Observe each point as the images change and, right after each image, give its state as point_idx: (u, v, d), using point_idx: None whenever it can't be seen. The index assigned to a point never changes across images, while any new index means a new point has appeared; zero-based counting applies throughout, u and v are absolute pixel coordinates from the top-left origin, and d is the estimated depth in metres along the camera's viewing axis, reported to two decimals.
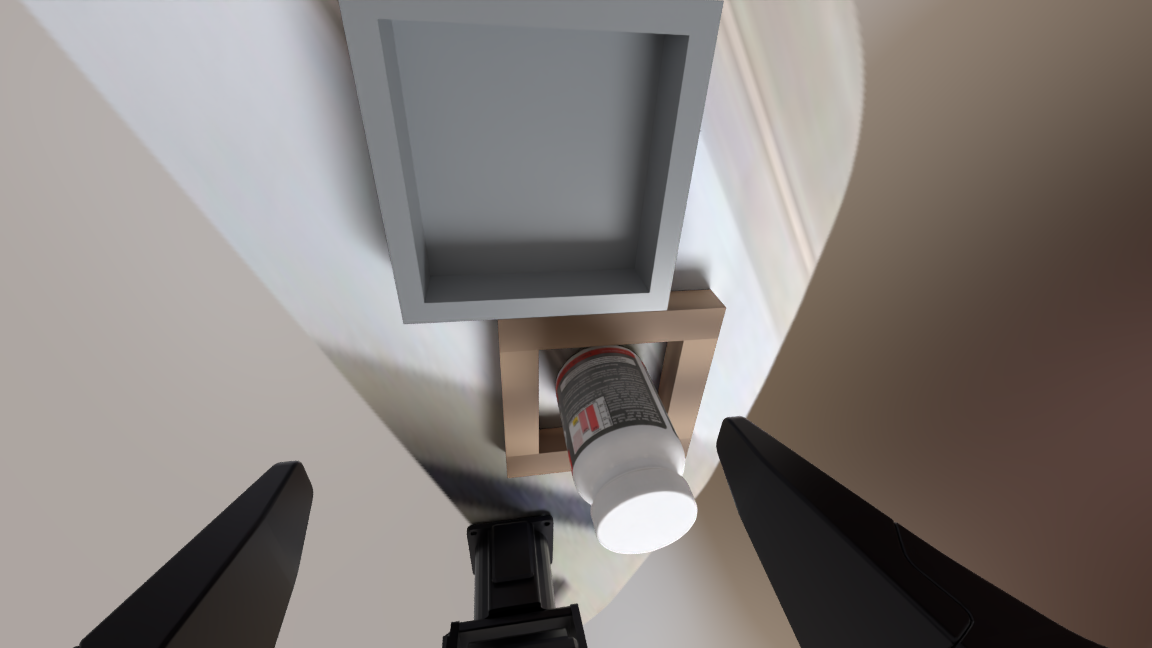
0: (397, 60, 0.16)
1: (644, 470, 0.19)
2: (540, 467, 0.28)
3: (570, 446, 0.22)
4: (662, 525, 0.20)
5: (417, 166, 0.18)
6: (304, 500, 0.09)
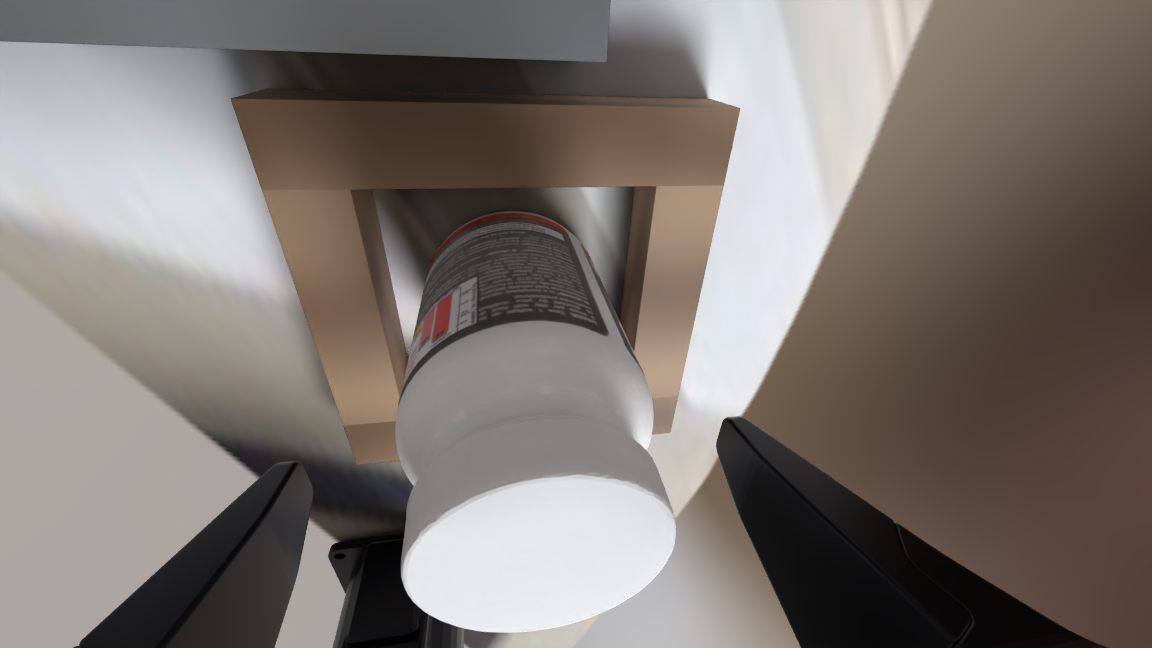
0: None
1: (530, 422, 0.07)
2: None
3: None
4: (585, 566, 0.08)
5: None
6: (304, 500, 0.09)
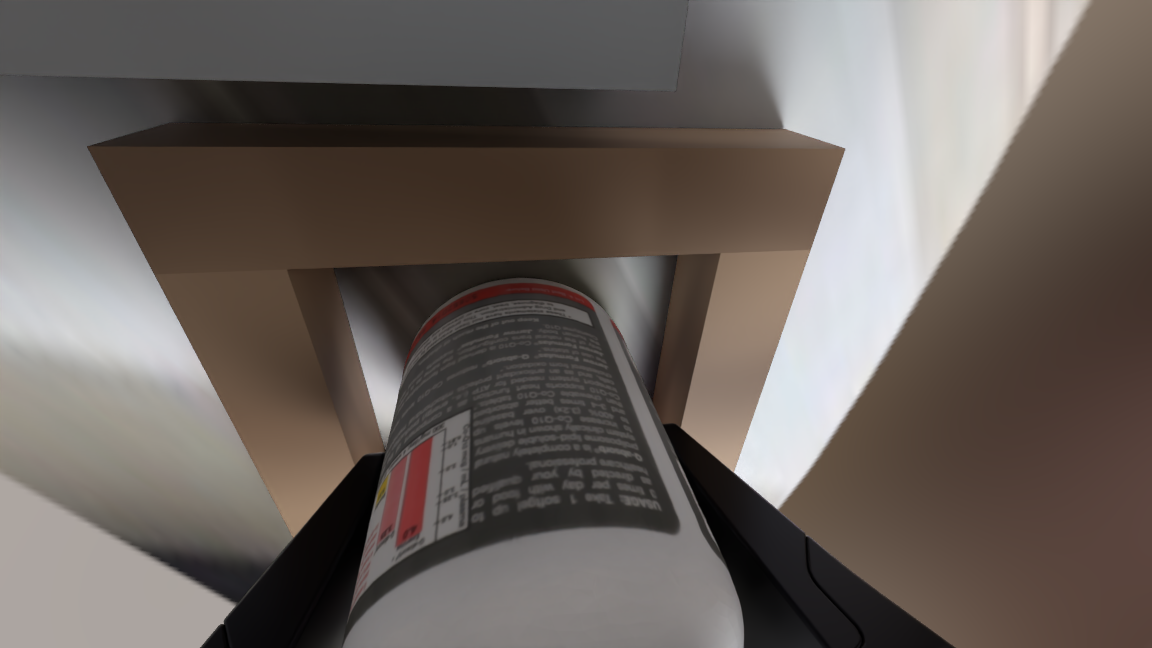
0: None
1: None
2: None
3: None
4: None
5: None
6: None
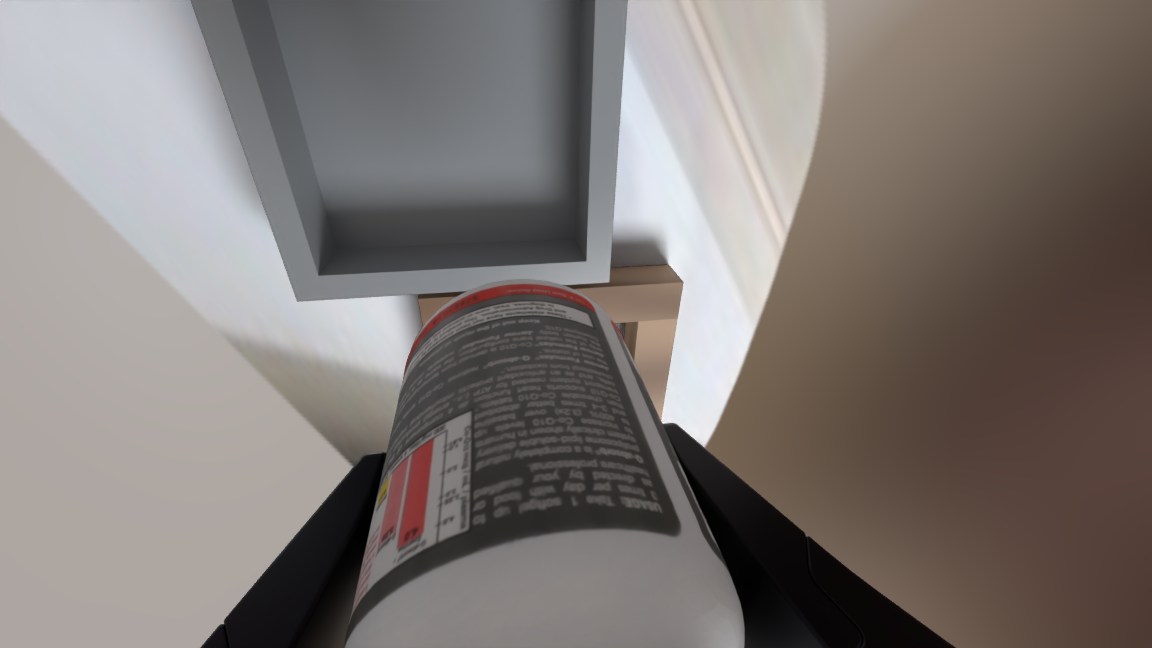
0: None
1: None
2: None
3: (359, 579, 0.07)
4: None
5: (304, 116, 0.16)
6: None
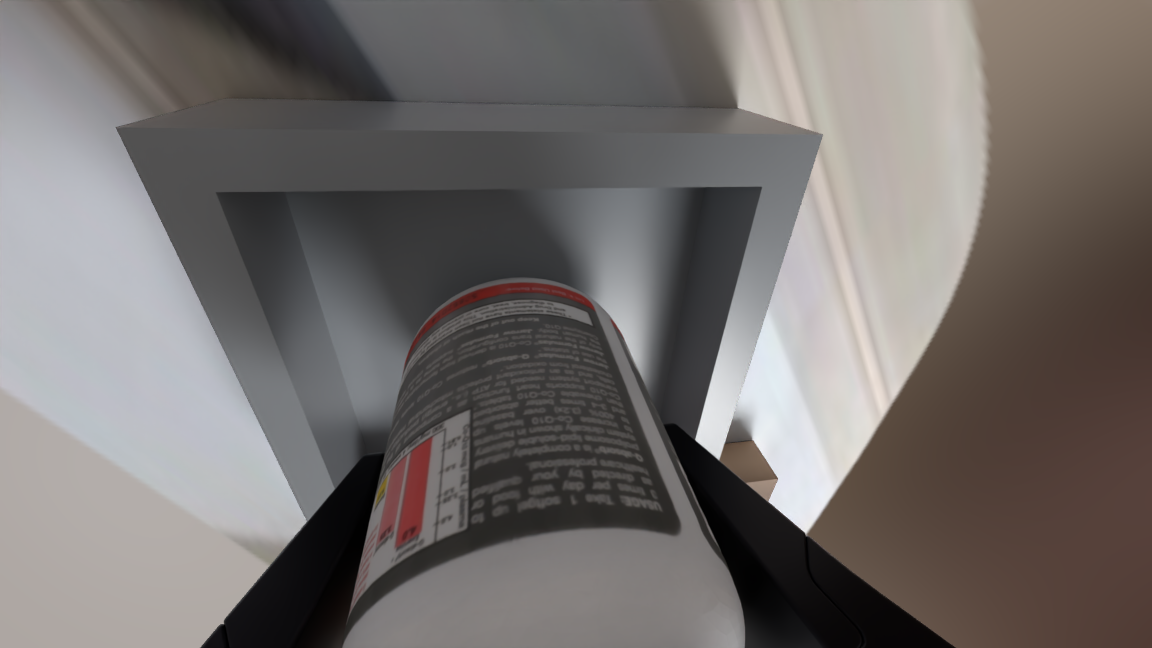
0: (291, 213, 0.10)
1: None
2: None
3: None
4: None
5: (339, 345, 0.12)
6: None
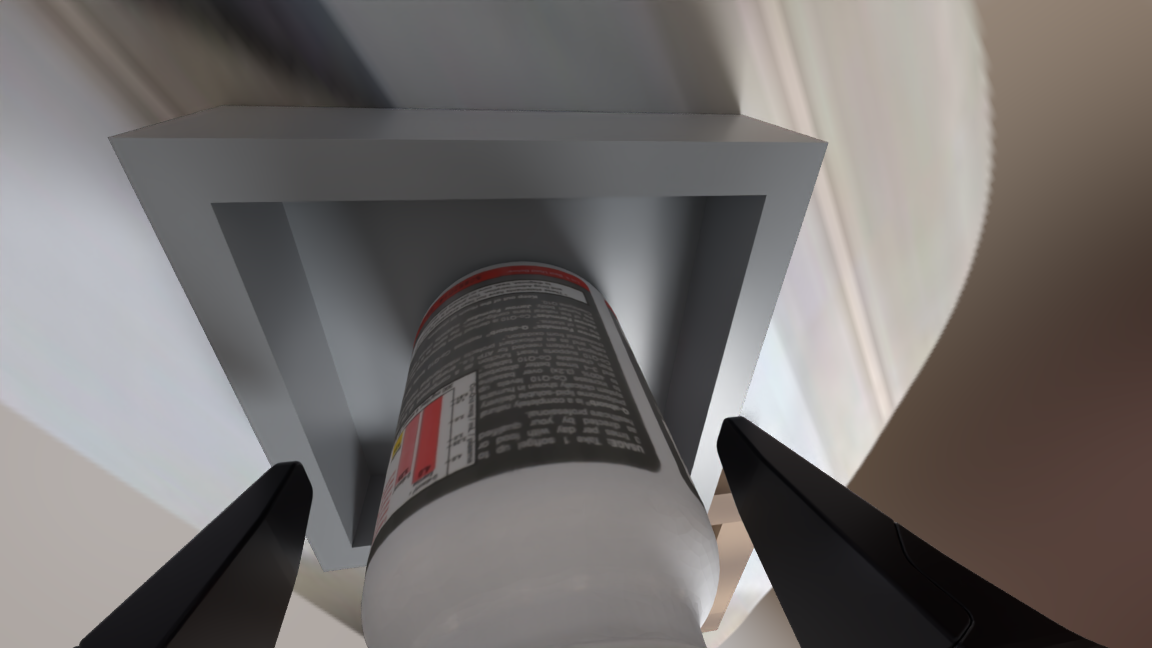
0: (288, 221, 0.10)
1: None
2: None
3: None
4: None
5: (338, 354, 0.12)
6: (304, 500, 0.09)
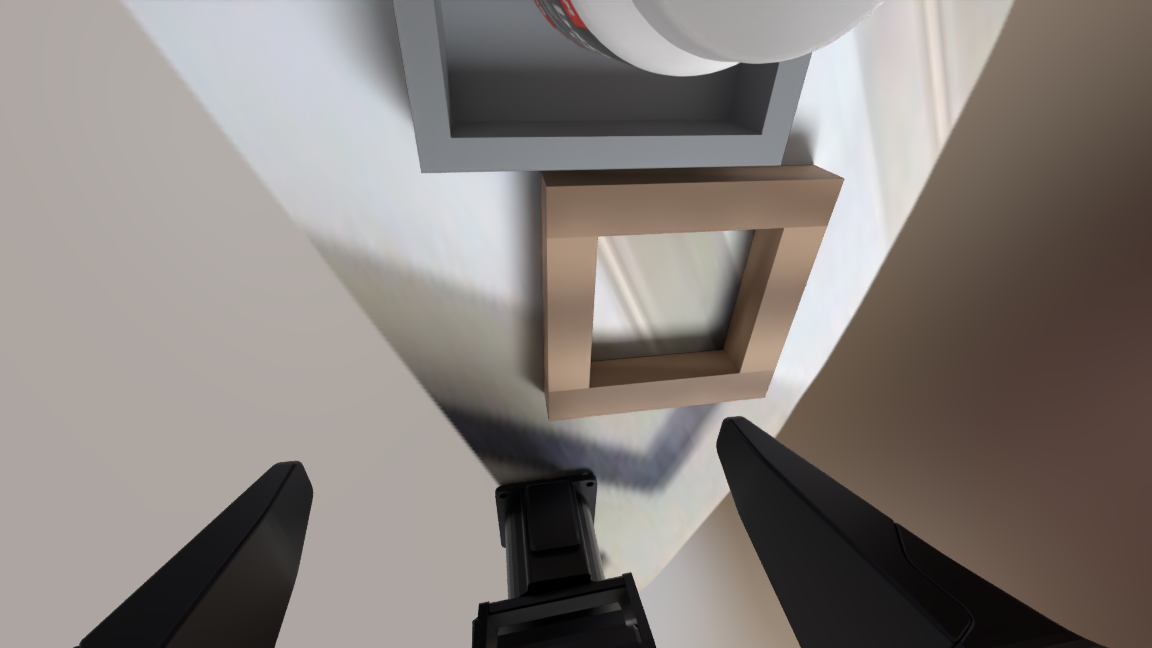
0: None
1: None
2: (589, 407, 0.23)
3: None
4: None
5: None
6: (304, 500, 0.09)
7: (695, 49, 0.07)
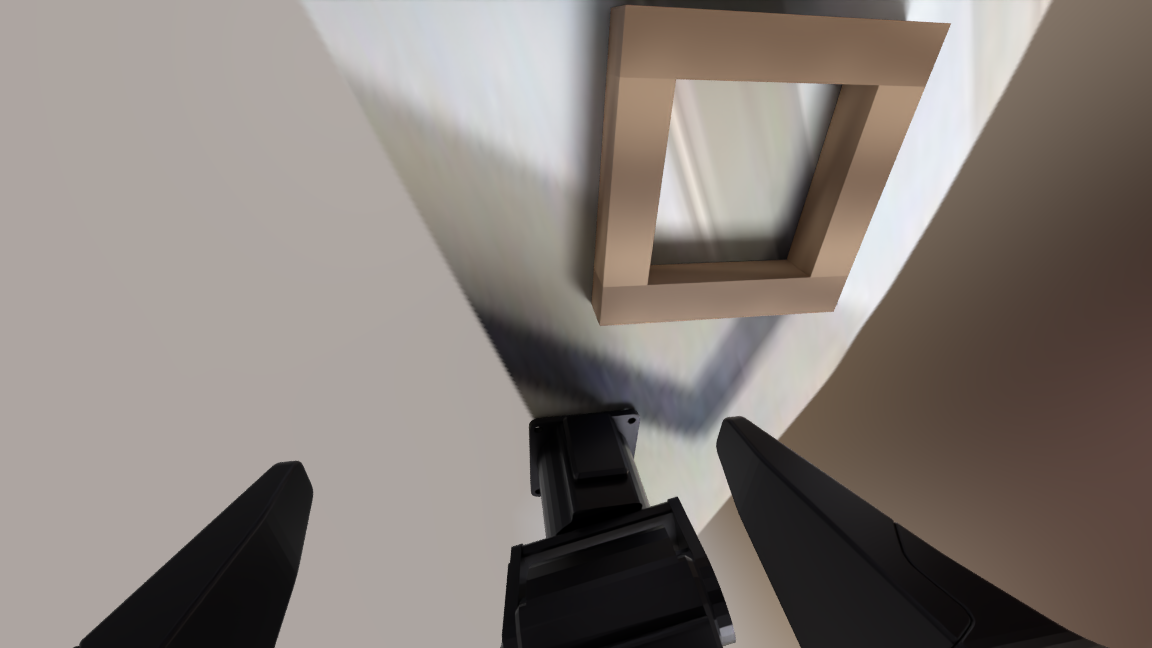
0: None
1: None
2: (645, 310, 0.20)
3: None
4: None
5: None
6: (304, 500, 0.09)
7: None
